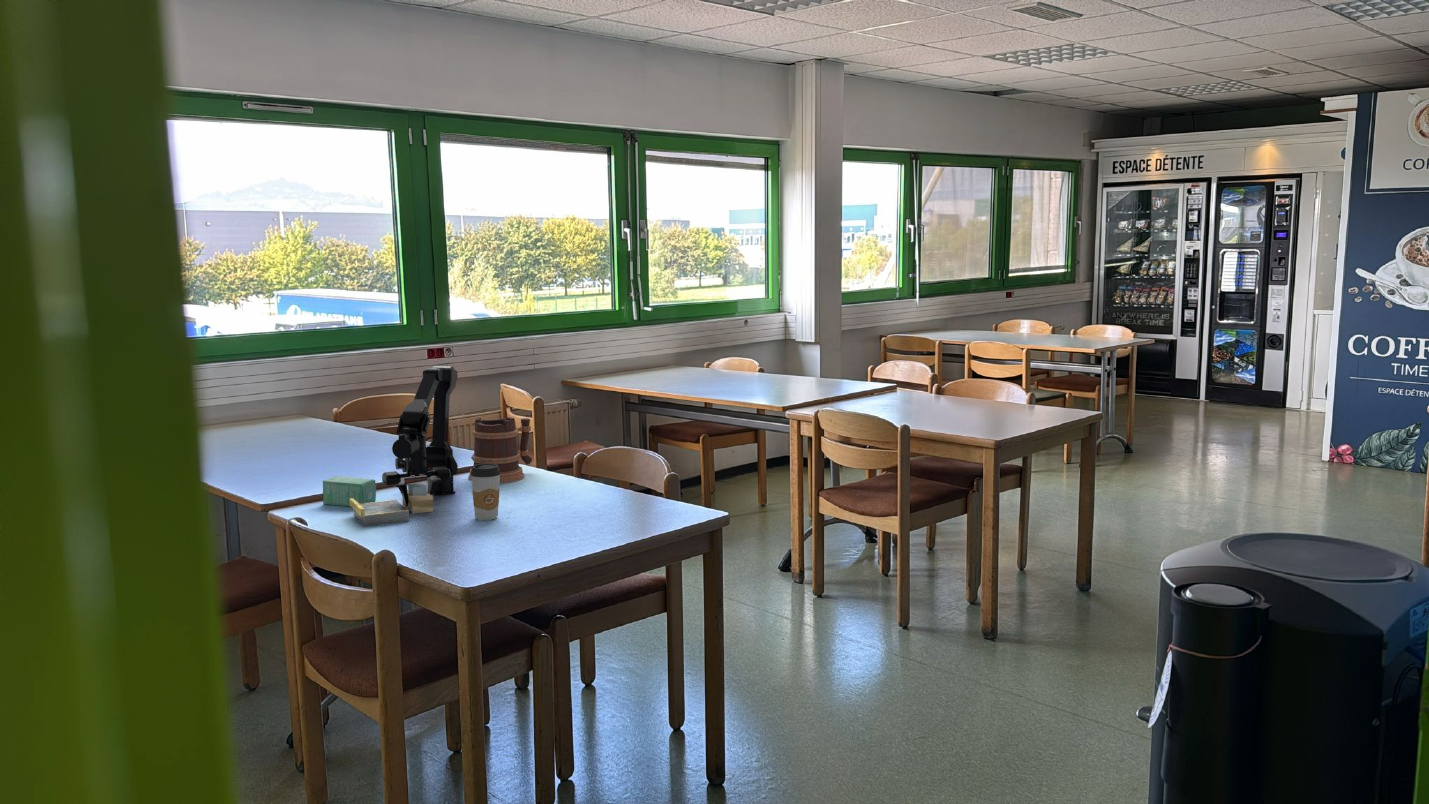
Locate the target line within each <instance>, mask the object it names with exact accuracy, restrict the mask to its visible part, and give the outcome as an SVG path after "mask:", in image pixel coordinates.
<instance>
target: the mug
mask: <svg viewBox="0 0 1429 804" xmlns="http://www.w3.org/2000/svg"><path fill="white" fill-rule="evenodd" d="M530 423H531V420H530V418H527V417H526V418H524V417H523V418H521V419H520V424H521V425H520V426H519V427H516V425H517V424H516V419H515V418H514V417H511V416H507V417H505V418H498V419H482V418H481V417H475V419H474V430H472V432H471V433H472V436H473V437H474V443H473V445H474V446H473V447H474V448H473V454H472V455H471V460H472V461H473V466H474V465H477V464H497V465H498V466H499V469H500V473H501V474H500V482H499V484H506V483H507V484H508V483H514V482H517V481H521V480H523V479H525V474H524V472H523V471H524V469H523V467H522V466H520V465H519V464H520V463H519V460H520V458H521V460H522V462H524V464H526V466H528V465H530V464H531V463H532V461H533V458H532V456H530V454H529V450H528V445H529V444H528V442H529V437H530V432H531V431H532V430H531V429H532V426H531V425H530ZM519 432H521V435H520V442H519V450H518V440H517V439H518V437H517V436H518V435H519ZM471 470H472V468H470V469H469V475H468V477H467V480H468V481H470V482H472V479H471V475H470V474H471Z"/></svg>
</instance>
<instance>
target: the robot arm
mask: <svg viewBox="0 0 1429 804" xmlns="http://www.w3.org/2000/svg"><path fill="white" fill-rule="evenodd" d="M458 375H459V374H458V371H457V369H455V368H454V366H451V365H448V366H447V365H443V366H442V365H441V366H440V365H437V366H436V365H434V366H432V367H430V368H428V367H427V368H424V369H423V371H422V377H421V380H420V382H419V385H418V387H417V389H416V393H415V395H414V398H413V400H412V401H411V402H409V403H408V404H406V406H405V407H404V409H403V410H402V412H401V414H400V417H399V420H398V424H397V429H396V433H395V434H396V436H397V435H398V439H397V440H395V441H394V442H393V444H392V446H391V449H392V450H391V451H392V453H393V455H394V457H396V458H395V463H394V465H395V469H396V470H395V471H394V470H392V471H384V472H383V473H382V475H381V480H382V483H383V484H385V485H386V486H394V487H396V488H398V490H399V491H400V494H401V497H403V499H404V502H405V505H406V506H408V493H407V490H408V484H407V483H405V481H407V480H408V481H409V480H416V479H426V480H427V481H426V482H427V488H426V490H427V492H428V493H429V494H431V495H432V496H433V497H434V496H439V495H441V496H442V495H449V494H450V495H451V494H456V491H455V490H454V475H457V474H458V470H459V469H458V468H459V465H458V463H457V461H456V459H455V457H454V450H453V448H452V447H451V445H450V443H449V422H450V421H449V420H450V419H449V418H450V397H451V394H452V392H453V391H454V390H455V388H456V385H457V384H456V383H457V381H458V378H459V377H458ZM432 400H433V410H432V411H433V412H432V413H433V414H432V434H431V436H432V437H431V442H430V444H428V446H427V441H426V440H427V439H426V438H427V434H428V432H427V431H428V429H429V425H430V424H431V423H430V422H431V416H430V411H429V409H430V406H431V403H432ZM397 470H402V473H399V472H398V471H397Z"/></svg>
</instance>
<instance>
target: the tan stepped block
mask: <svg viewBox="0 0 1429 804" xmlns="http://www.w3.org/2000/svg"><path fill="white" fill-rule="evenodd" d="M407 493H408V489H407ZM401 497H402V496H401ZM402 505H403V506H404V507H405V508H406V509H407V510H409V511H410V513H411V514H412V515H414V514H423V513H431V512H434V495H433V496H432V495H431V494H429V493H428V492H427V494H426V495H417V496H412V495H411V494H410V493H408V506H406V505H405V502H404V499H403V497H402Z"/></svg>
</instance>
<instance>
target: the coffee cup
mask: <svg viewBox="0 0 1429 804" xmlns="http://www.w3.org/2000/svg"><path fill="white" fill-rule="evenodd" d="M471 469H472V470H471V474H470V473H469V474H470V475H471V479H472V481H471V487H472V490H471V491H472V500H473V502H472V503H473V508H474V509H473V511H474V517H475V519H476V520H478V521H482V520H488V521H493V520H492V519H494V520H496V519H497V518H498V516H499V505H500V483H499V482H500V474H501V473H500V469H499V466H498V465H497V464H477V465H474V464H473V465H472V466H471ZM495 518H496V519H495Z"/></svg>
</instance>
